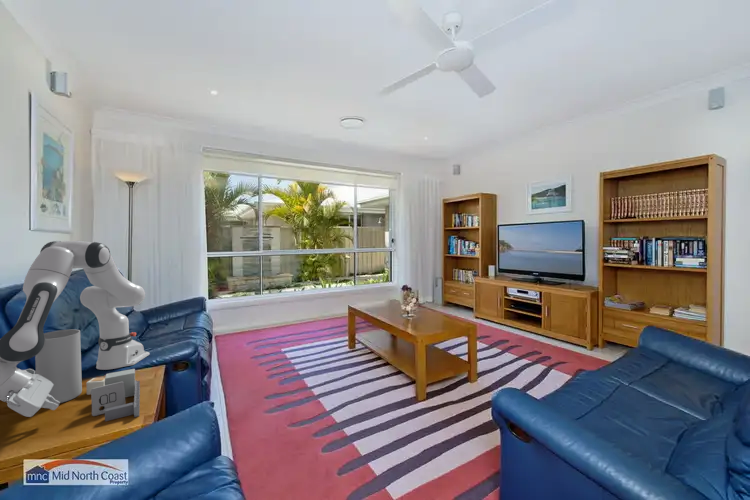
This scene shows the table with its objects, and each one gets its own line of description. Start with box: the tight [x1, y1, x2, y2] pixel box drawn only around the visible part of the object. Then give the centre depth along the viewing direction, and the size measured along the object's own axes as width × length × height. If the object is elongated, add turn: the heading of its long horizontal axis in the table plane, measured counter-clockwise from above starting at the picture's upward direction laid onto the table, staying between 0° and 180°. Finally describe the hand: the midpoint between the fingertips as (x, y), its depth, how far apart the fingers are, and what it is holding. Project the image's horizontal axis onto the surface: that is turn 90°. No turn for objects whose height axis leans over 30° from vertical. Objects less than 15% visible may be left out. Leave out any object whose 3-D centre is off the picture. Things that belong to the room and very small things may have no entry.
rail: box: [133, 379, 141, 418], centre depth 123 cm, size 24×2×4 cm, turn 36°
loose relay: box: [85, 376, 106, 396], centre depth 131 cm, size 4×6×5 cm, turn 101°
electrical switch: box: [90, 382, 126, 417], centre depth 118 cm, size 9×5×9 cm, turn 134°
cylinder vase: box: [34, 329, 83, 404], centre depth 125 cm, size 12×12×25 cm
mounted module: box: [105, 368, 136, 398], centre depth 127 cm, size 5×9×9 cm, turn 126°
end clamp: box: [104, 401, 134, 422], centre depth 113 cm, size 2×8×4 cm, turn 126°
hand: (57, 406), depth 110 cm, fingers closed
